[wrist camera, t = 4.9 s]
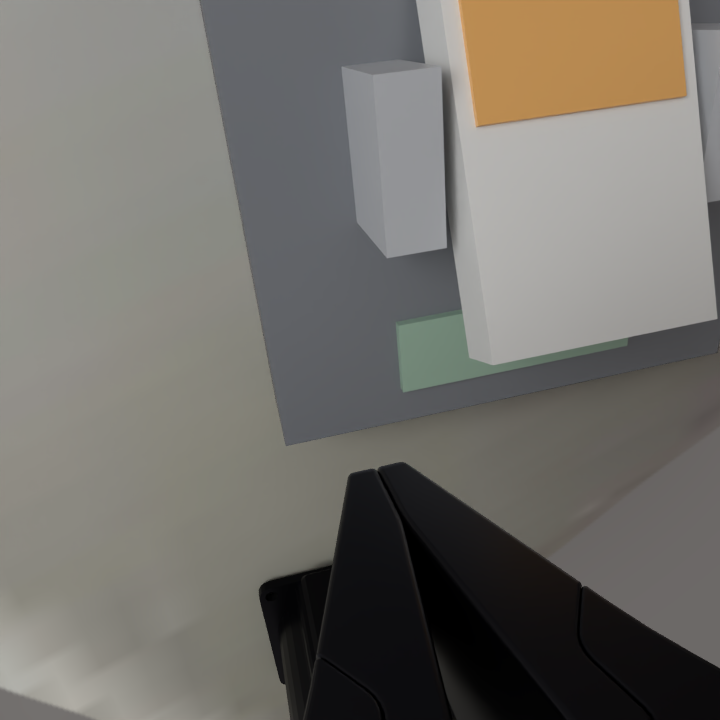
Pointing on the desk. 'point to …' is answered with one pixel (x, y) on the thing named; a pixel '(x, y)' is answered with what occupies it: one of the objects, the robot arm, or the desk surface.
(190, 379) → the desk surface
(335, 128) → the box
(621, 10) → the block
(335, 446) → the desk surface
